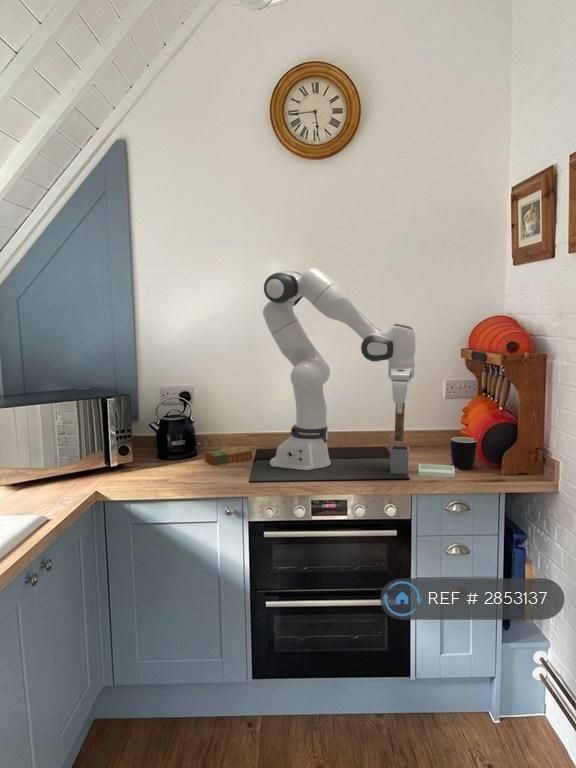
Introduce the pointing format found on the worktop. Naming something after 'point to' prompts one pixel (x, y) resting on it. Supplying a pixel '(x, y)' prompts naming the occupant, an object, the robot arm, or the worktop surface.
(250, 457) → the carton
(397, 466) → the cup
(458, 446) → the mug
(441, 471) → the tray
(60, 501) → the worktop surface
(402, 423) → the dowel
